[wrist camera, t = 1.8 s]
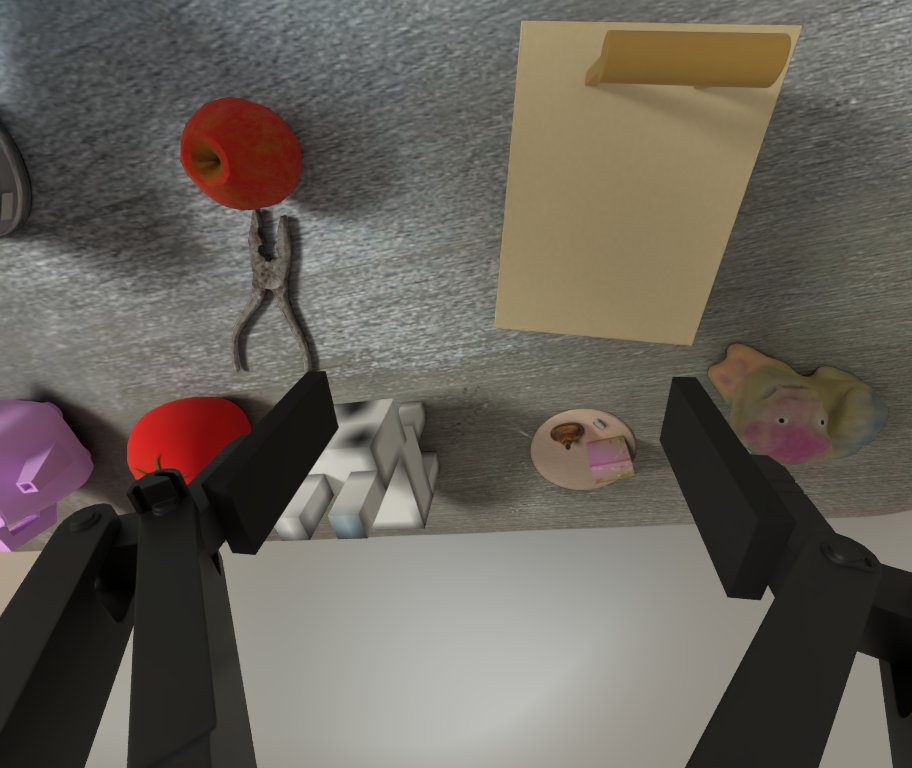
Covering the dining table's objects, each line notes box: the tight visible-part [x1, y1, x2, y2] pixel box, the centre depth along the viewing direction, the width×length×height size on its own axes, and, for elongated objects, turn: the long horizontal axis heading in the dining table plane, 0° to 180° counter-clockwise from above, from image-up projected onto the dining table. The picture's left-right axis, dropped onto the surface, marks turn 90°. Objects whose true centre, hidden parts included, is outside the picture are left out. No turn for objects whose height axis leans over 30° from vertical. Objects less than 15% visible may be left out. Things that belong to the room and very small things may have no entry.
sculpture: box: [708, 343, 889, 464], centre depth 39 cm, size 15×8×10 cm, turn 83°
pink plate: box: [530, 409, 636, 490], centre depth 49 cm, size 12×12×4 cm
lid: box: [494, 21, 802, 346], centre depth 25 cm, size 18×15×9 cm
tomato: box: [127, 397, 252, 485], centre depth 50 cm, size 12×12×13 cm
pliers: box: [231, 209, 311, 375], centre depth 46 cm, size 10×1×20 cm
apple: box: [181, 97, 302, 210], centre depth 35 cm, size 8×8×11 cm
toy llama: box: [274, 398, 440, 541], centre depth 44 cm, size 8×18×20 cm, turn 12°
